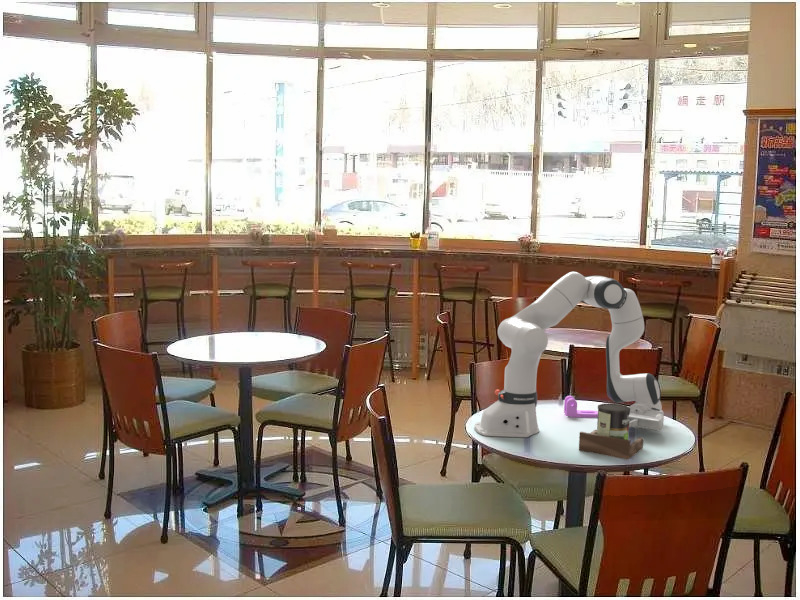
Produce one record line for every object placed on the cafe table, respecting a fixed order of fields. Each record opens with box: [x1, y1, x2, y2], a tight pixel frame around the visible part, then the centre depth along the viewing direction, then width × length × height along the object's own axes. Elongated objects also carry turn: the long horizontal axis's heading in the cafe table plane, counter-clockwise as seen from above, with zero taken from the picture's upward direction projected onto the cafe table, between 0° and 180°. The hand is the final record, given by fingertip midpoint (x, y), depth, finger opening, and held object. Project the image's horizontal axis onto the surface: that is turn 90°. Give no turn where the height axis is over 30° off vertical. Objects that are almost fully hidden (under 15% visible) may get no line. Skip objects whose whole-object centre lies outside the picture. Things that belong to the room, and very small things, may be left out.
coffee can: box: [596, 403, 630, 440], centre depth 272 cm, size 10×10×14 cm
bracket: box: [563, 395, 598, 418], centre depth 313 cm, size 13×6×7 cm, turn 89°
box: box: [578, 429, 644, 461], centre depth 272 cm, size 15×16×6 cm
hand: (626, 424), depth 283 cm, fingers closed
